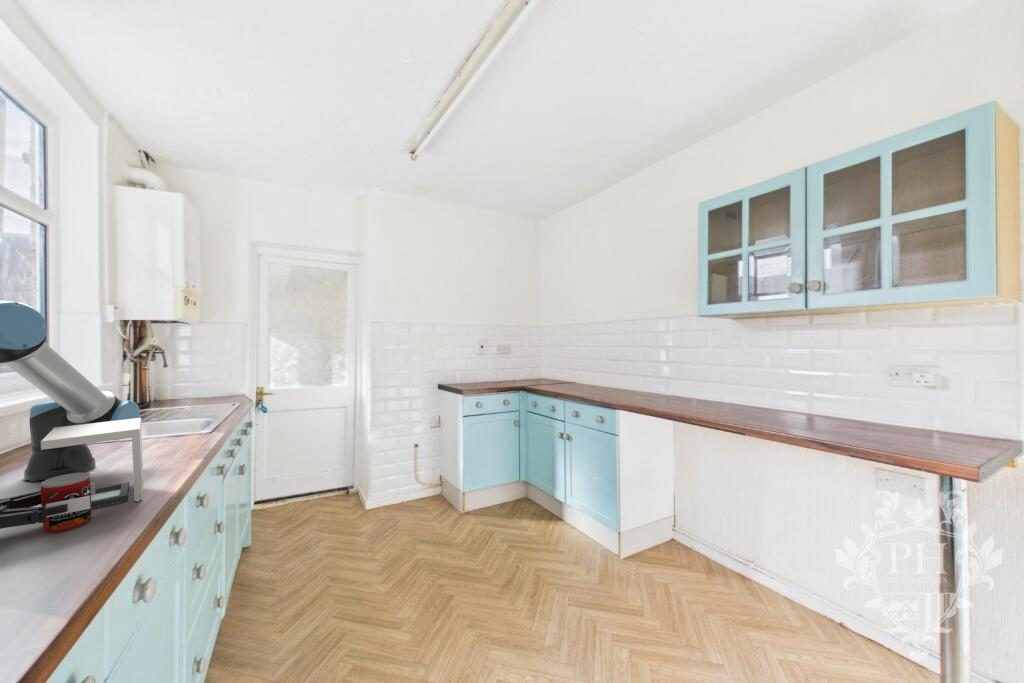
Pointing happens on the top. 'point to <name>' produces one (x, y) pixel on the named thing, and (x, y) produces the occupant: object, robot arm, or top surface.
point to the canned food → (66, 490)
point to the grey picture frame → (110, 494)
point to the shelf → (100, 434)
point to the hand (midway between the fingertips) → (92, 494)
